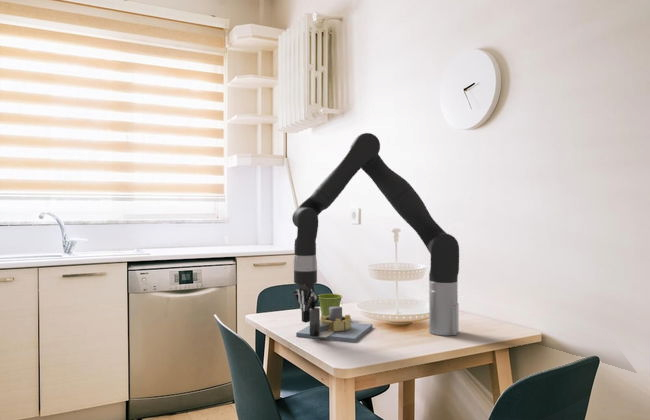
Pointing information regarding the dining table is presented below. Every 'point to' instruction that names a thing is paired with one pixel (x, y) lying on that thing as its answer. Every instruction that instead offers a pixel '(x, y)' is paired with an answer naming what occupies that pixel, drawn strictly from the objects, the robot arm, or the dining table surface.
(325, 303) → the plant pot
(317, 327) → the ring with upright handle
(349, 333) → the hub board
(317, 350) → the dining table surface
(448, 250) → the robot arm
